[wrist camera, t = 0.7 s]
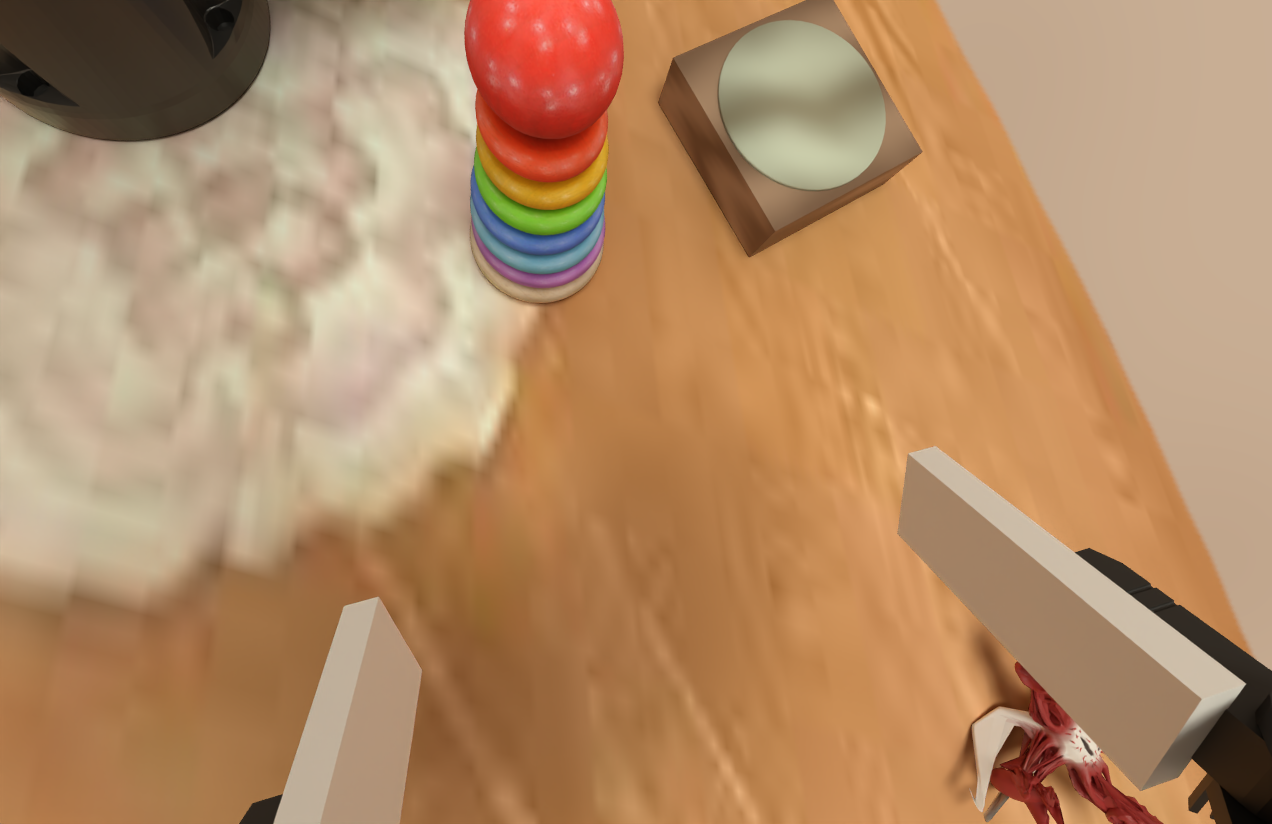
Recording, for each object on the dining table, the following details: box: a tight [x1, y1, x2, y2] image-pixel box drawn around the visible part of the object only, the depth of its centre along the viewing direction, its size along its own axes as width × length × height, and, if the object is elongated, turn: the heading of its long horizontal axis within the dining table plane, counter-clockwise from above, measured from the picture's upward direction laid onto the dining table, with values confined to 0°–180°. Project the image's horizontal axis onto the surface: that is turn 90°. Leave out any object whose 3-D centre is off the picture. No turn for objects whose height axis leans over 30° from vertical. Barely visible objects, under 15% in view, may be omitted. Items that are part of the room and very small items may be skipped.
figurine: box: [969, 662, 1163, 824], centre depth 32 cm, size 15×12×7 cm
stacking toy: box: [464, 0, 624, 303], centre depth 24 cm, size 8×8×19 cm
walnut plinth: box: [658, 0, 922, 257], centre depth 35 cm, size 12×12×4 cm
